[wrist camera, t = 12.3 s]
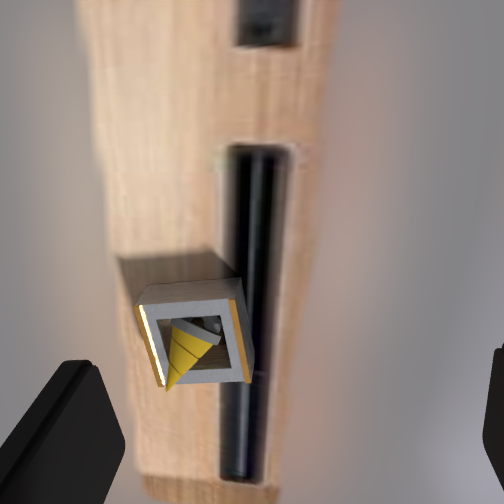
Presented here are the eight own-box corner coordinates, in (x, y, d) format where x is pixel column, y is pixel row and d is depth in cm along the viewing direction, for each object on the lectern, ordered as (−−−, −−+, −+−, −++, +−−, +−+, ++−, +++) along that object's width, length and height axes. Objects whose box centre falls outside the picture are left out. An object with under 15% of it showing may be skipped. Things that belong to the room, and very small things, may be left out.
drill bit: (238, 313, 46) (197, 401, 44) (195, 293, 47) (154, 378, 46) (226, 307, 41) (180, 407, 39) (179, 285, 42) (132, 380, 41)
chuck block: (147, 285, 45) (133, 307, 41) (240, 277, 43) (234, 299, 40) (169, 360, 49) (158, 387, 45) (255, 355, 48) (251, 382, 44)
